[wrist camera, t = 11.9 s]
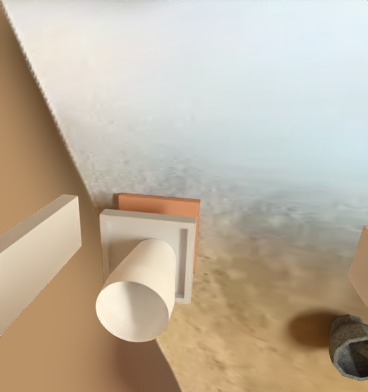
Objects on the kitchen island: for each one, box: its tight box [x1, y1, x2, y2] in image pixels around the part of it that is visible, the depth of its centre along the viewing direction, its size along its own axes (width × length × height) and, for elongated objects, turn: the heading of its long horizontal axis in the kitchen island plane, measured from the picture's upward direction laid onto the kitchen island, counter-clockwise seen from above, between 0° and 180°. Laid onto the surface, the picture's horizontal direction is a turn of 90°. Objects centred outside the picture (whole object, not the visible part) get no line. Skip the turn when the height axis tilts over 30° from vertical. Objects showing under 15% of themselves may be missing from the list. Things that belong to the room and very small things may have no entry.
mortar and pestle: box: [329, 315, 368, 381], centre depth 48 cm, size 11×9×12 cm
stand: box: [99, 193, 200, 304], centre depth 48 cm, size 14×14×10 cm
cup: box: [96, 239, 176, 342], centre depth 39 cm, size 9×9×12 cm
